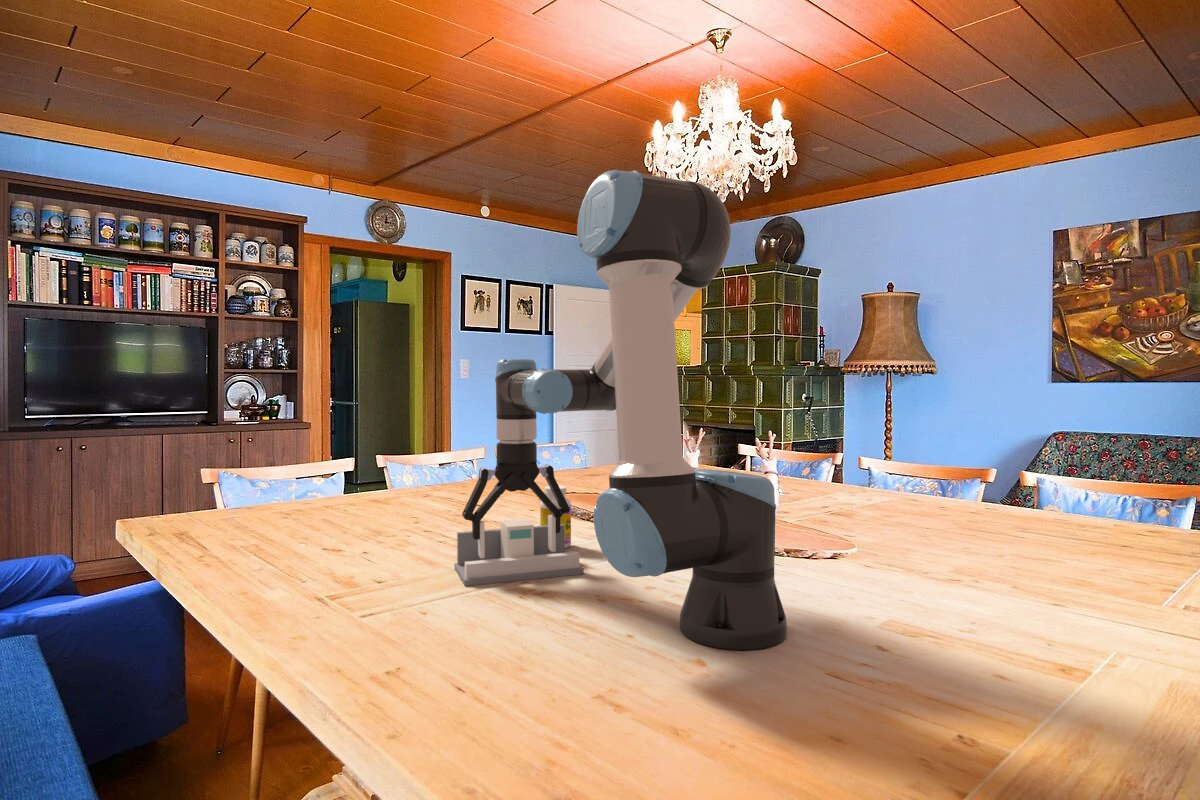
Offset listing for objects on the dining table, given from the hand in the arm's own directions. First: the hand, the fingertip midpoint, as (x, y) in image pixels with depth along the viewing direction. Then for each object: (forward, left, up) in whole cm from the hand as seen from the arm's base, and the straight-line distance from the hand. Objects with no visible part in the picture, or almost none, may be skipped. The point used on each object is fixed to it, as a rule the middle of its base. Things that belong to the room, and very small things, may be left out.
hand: (517, 553), depth 135 cm
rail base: (-1, 0, -3) cm, 3 cm away
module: (0, 0, -2) cm, 2 cm away
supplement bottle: (+15, -12, -3) cm, 20 cm away
